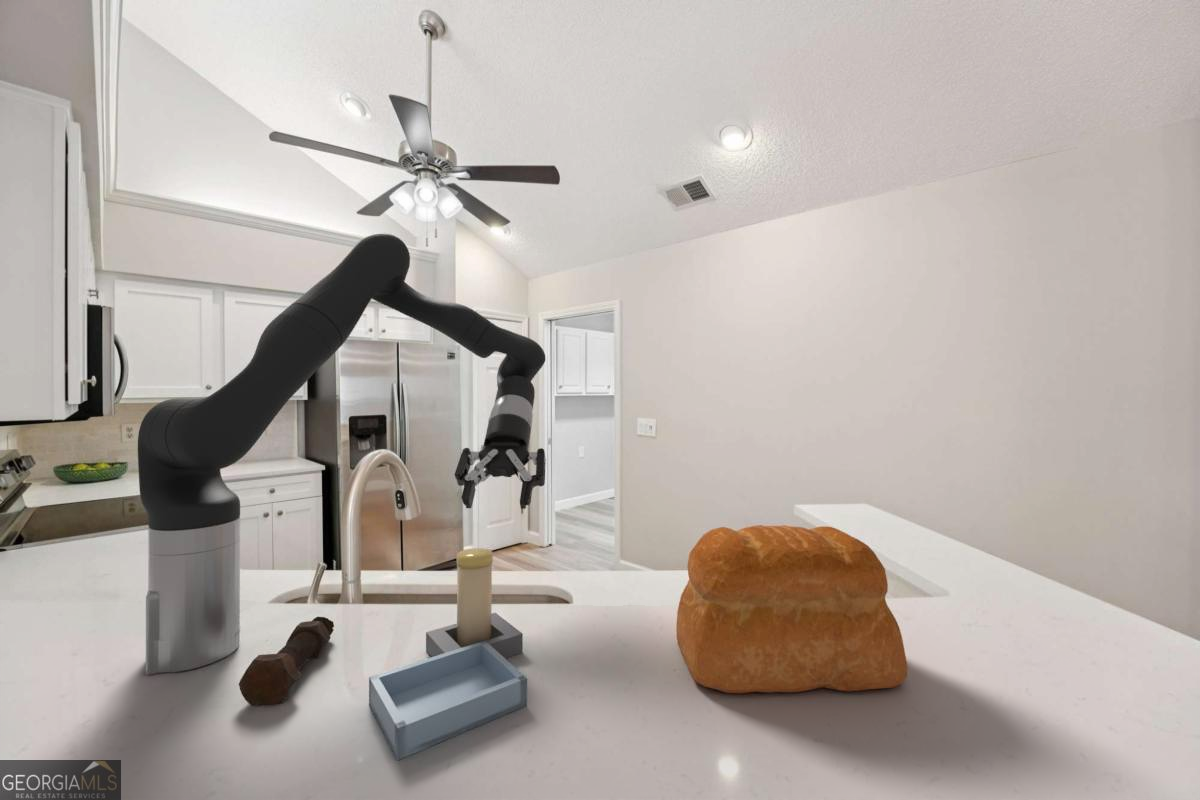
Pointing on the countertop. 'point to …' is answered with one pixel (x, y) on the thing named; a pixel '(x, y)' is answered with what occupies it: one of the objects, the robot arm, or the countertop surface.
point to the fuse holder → (502, 641)
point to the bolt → (284, 664)
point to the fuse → (474, 596)
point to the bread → (788, 612)
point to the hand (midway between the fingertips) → (494, 505)
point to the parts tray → (444, 696)
